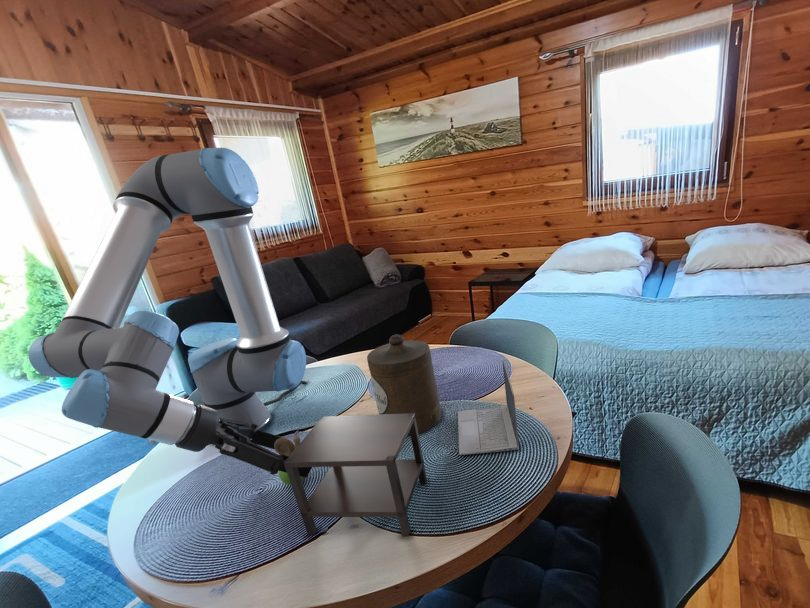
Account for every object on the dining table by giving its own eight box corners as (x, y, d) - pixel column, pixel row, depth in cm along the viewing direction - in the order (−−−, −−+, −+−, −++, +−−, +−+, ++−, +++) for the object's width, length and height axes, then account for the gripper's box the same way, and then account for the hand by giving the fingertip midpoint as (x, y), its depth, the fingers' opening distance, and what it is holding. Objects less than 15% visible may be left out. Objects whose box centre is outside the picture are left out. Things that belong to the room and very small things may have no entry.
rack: (340, 481, 86) (322, 416, 81) (427, 480, 84) (414, 412, 78) (307, 535, 74) (283, 462, 68) (409, 536, 71) (392, 460, 65)
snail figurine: (305, 491, 85) (289, 439, 80) (277, 490, 86) (259, 439, 82) (319, 473, 90) (305, 424, 85) (292, 472, 91) (276, 423, 87)
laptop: (458, 413, 106) (451, 365, 101) (508, 407, 106) (504, 358, 101) (459, 457, 89) (451, 402, 84) (519, 450, 89) (514, 394, 84)
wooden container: (385, 408, 113) (368, 329, 105) (441, 401, 113) (429, 321, 105) (377, 439, 99) (357, 351, 91) (441, 431, 99) (426, 343, 91)
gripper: (160, 421, 80) (265, 451, 95) (187, 475, 62) (311, 502, 77) (182, 385, 82) (282, 420, 96) (215, 428, 64) (332, 463, 78)
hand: (295, 456), depth 86 cm, fingers open, 13 cm apart
